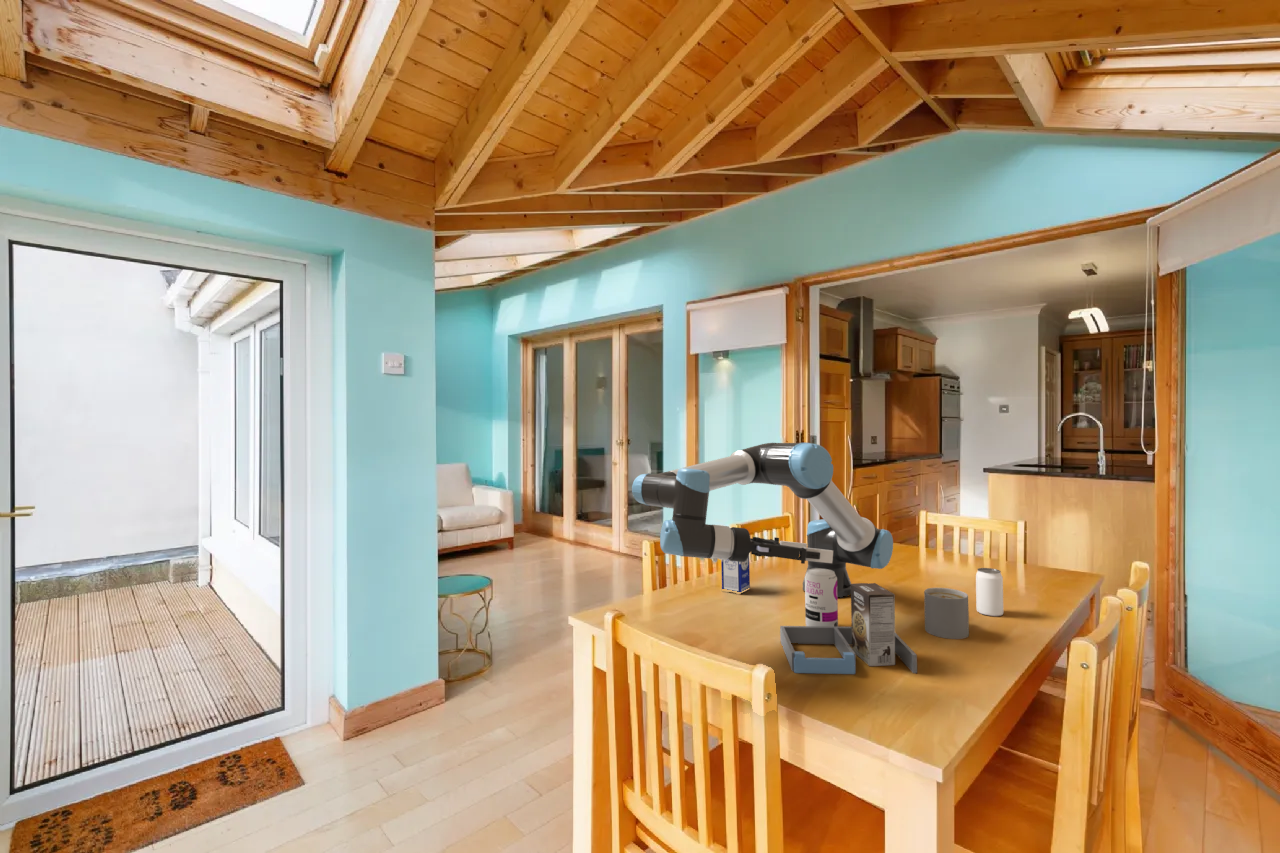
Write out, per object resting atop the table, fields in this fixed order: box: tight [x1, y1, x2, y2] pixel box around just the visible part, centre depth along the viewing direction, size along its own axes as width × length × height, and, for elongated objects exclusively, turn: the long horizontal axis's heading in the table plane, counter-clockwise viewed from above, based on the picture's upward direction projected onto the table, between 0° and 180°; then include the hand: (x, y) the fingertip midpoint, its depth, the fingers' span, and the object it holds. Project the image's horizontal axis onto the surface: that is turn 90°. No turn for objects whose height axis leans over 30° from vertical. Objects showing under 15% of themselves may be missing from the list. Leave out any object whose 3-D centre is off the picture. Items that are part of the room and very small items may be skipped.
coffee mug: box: [923, 587, 970, 640], centre depth 150 cm, size 13×10×10 cm
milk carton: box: [720, 554, 751, 592], centre depth 188 cm, size 7×7×20 cm
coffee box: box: [850, 582, 896, 667], centre depth 133 cm, size 9×6×16 cm
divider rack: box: [779, 625, 918, 675], centre depth 133 cm, size 18×26×4 cm
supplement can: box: [804, 568, 839, 627], centre depth 153 cm, size 8×8×15 cm
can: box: [975, 567, 1004, 617], centre depth 162 cm, size 6×6×12 cm
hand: (818, 552), depth 133 cm, fingers open, 13 cm apart
